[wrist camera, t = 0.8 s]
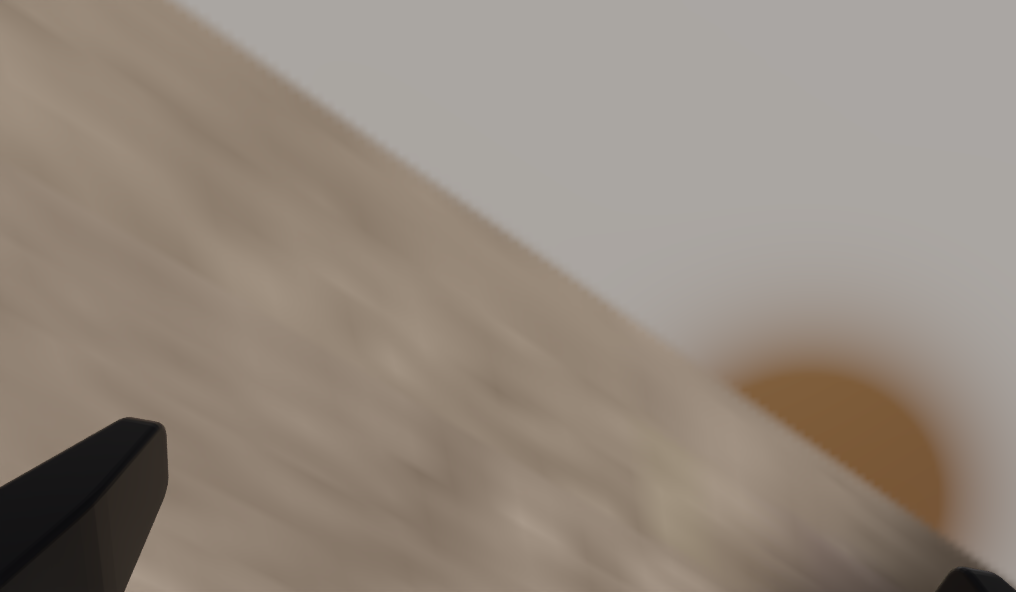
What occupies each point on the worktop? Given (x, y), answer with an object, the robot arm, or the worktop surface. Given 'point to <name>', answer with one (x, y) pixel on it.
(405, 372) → the worktop surface
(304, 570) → the worktop surface
